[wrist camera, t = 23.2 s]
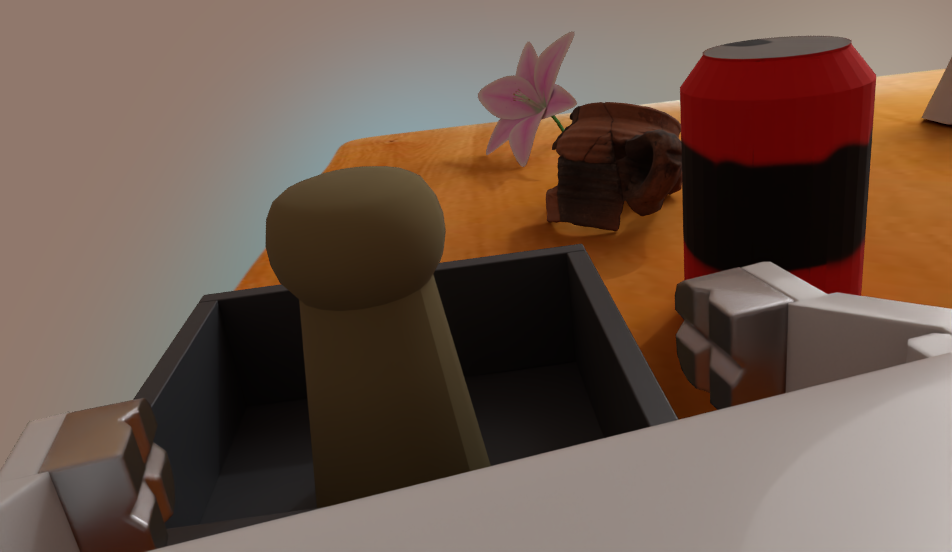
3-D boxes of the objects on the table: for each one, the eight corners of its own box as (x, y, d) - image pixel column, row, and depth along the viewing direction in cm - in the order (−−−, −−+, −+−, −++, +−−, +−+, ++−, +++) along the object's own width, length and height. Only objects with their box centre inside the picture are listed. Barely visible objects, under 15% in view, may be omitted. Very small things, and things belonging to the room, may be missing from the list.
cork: (283, 496, 27) (203, 190, 23) (423, 419, 30) (374, 141, 26) (382, 585, 23) (303, 225, 18) (532, 483, 26) (494, 160, 22)
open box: (235, 411, 34) (203, 294, 32) (591, 363, 34) (582, 242, 32) (93, 745, 20) (16, 570, 17) (712, 658, 20) (709, 475, 18)
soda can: (791, 269, 41) (798, 28, 36) (899, 326, 34) (925, 38, 29) (657, 299, 39) (647, 53, 35) (741, 366, 32) (744, 70, 28)
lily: (487, 149, 78) (441, 73, 72) (591, 88, 77) (553, 5, 71) (518, 215, 69) (468, 136, 63) (637, 148, 68) (597, 60, 62)
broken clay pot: (512, 222, 54) (535, 107, 55) (623, 250, 58) (643, 142, 59) (610, 217, 44) (638, 73, 44) (739, 252, 47) (763, 120, 48)
